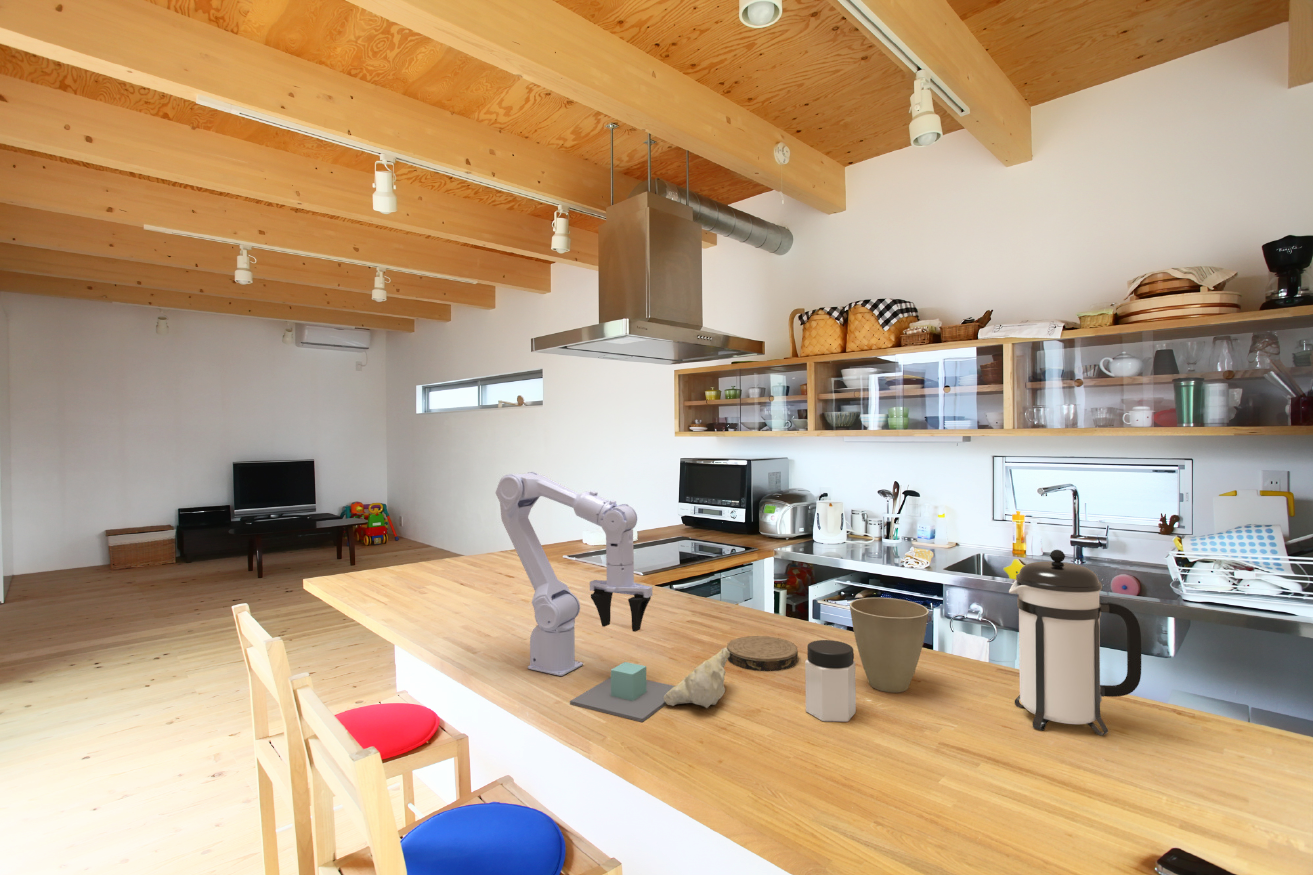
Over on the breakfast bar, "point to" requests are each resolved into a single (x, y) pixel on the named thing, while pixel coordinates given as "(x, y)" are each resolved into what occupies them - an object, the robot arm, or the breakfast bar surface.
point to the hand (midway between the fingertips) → (620, 627)
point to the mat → (624, 701)
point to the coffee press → (1067, 644)
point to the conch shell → (701, 683)
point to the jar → (830, 681)
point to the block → (628, 681)
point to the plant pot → (889, 640)
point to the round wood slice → (762, 653)
